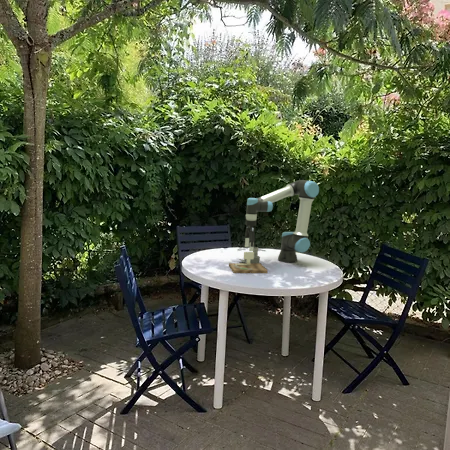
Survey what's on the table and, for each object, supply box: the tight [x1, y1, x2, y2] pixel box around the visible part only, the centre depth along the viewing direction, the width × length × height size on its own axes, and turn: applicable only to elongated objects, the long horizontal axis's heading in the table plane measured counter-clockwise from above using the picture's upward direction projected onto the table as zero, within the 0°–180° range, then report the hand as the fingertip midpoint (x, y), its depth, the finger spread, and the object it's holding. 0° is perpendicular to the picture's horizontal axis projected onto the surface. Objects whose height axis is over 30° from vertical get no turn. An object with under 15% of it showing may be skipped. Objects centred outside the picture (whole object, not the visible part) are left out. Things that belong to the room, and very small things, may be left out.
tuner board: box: [228, 262, 268, 274], centre depth 300 cm, size 24×19×2 cm
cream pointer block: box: [235, 251, 254, 266], centre depth 301 cm, size 13×3×10 cm, turn 100°
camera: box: [238, 246, 261, 263], centre depth 318 cm, size 9×12×15 cm
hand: (248, 248), depth 301 cm, fingers open, 13 cm apart
